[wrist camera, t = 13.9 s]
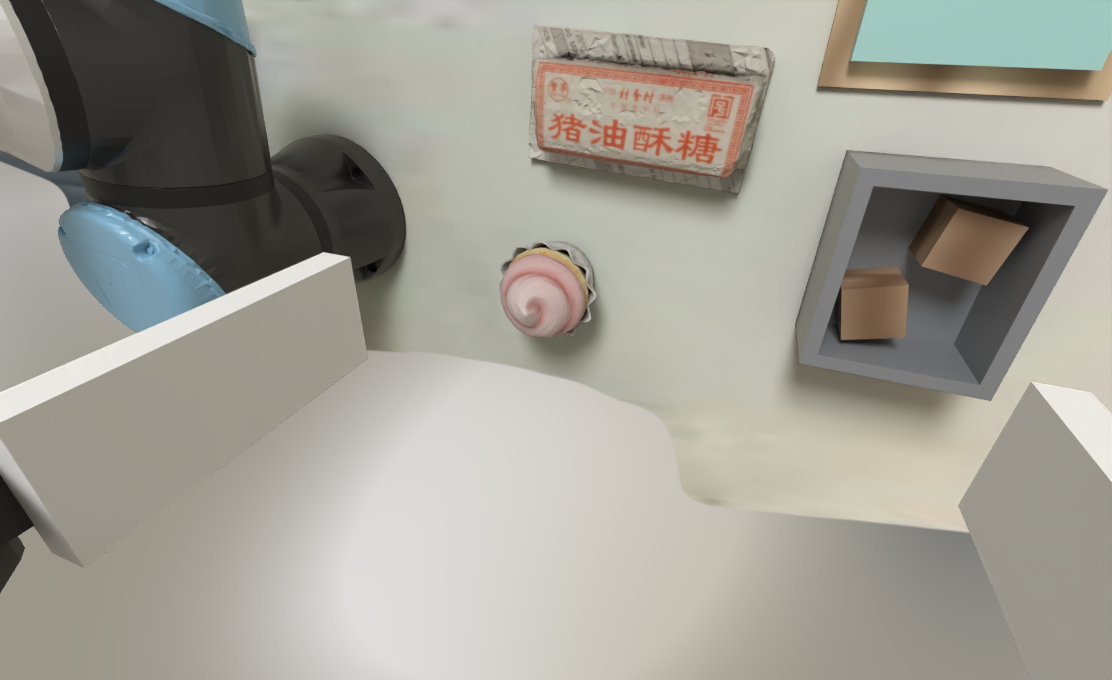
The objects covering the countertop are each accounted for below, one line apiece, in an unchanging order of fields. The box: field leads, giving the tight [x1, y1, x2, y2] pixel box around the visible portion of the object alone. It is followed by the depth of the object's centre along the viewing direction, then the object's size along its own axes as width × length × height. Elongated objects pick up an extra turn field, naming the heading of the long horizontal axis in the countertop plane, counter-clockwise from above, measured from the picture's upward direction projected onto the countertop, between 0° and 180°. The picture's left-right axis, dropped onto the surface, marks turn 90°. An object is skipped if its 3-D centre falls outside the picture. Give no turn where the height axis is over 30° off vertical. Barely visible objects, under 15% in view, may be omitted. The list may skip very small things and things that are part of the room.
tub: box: [796, 150, 1108, 401], centre depth 36 cm, size 12×14×7 cm
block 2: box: [908, 194, 1029, 286], centre depth 34 cm, size 4×4×4 cm
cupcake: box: [499, 240, 597, 338], centre depth 45 cm, size 9×9×10 cm
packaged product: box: [528, 26, 775, 193], centre depth 39 cm, size 18×5×10 cm
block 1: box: [836, 266, 909, 340], centre depth 38 cm, size 4×4×4 cm
